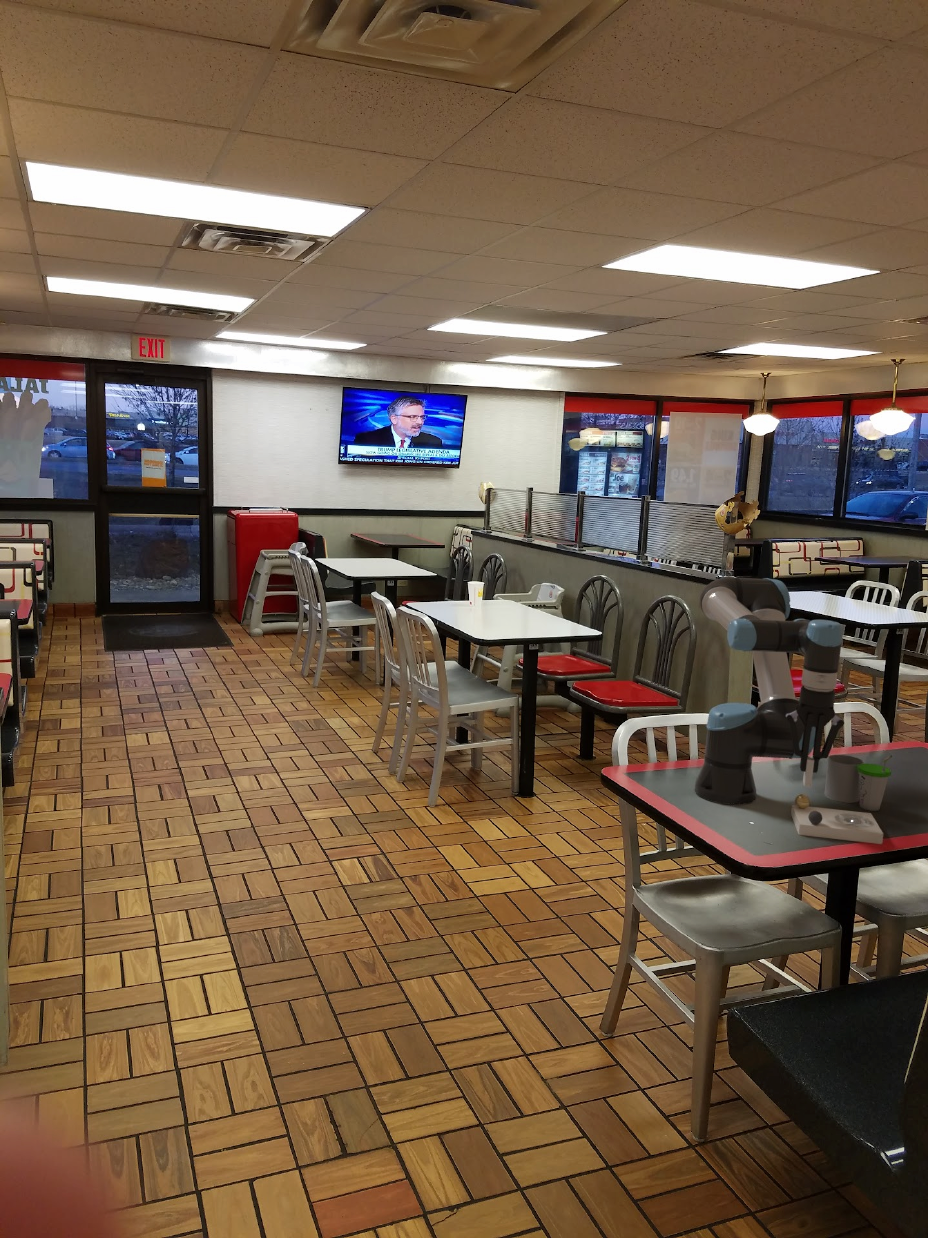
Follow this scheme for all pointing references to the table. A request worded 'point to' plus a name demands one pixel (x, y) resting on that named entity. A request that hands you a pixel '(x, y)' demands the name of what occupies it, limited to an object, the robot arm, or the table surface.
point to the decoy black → (815, 817)
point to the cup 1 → (842, 778)
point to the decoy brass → (802, 801)
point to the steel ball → (855, 821)
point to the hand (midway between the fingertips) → (806, 784)
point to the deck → (837, 825)
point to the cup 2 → (872, 784)
